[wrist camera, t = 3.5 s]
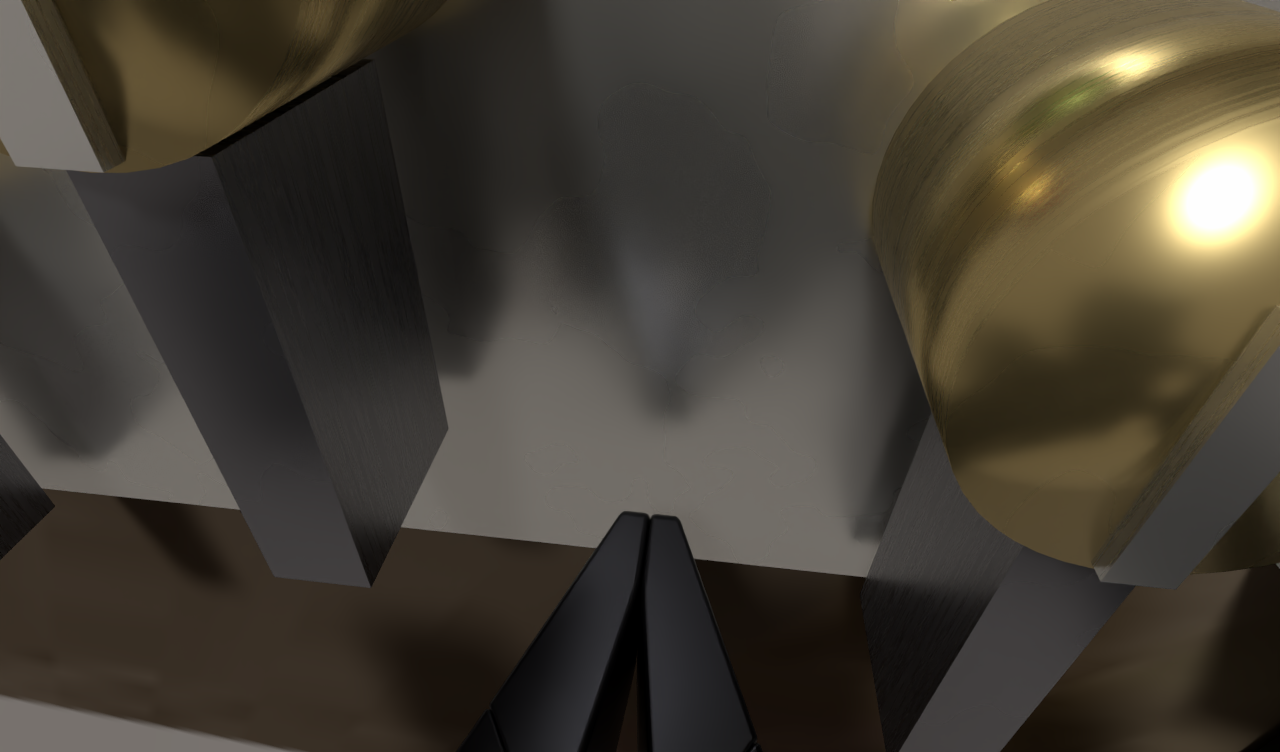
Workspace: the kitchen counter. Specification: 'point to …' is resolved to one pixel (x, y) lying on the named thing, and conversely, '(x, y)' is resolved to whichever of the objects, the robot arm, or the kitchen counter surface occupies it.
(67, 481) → the base plate
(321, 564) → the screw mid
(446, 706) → the kitchen counter surface
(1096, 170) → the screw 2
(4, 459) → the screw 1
